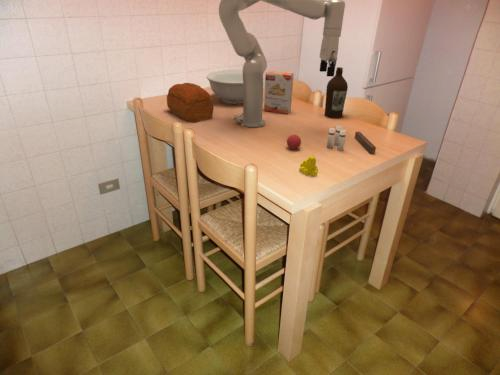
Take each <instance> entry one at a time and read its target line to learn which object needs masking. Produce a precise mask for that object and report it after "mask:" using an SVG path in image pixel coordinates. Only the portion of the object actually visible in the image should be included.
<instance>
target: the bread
mask: <svg viewBox="0 0 500 375" xmlns="http://www.w3.org/2000/svg"><path fill="white" fill-rule="evenodd" d="M166 103H167V108H168V109H169V110H170V112H171V113H173V114H175V115H177V116H179V117H180V118H182V119H184V120H186V121H188V122H191V123H198V122H204V121H208V120H211V119H213V112H214V110H215V109H214V101H213V100H212V97H211V94H210V93H209V92H208V91H207V90H205V89H204V88H202V87H201V86H200V85H198V84H197V83H191V82H184V83H175V84H173V85H171V87H169V89H168V92H167V95H166Z"/></svg>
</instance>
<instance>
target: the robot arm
mask: <svg viewBox="0 0 500 375" xmlns="http://www.w3.org/2000/svg"><path fill="white" fill-rule="evenodd" d="M259 2H264V3H267V4H269V5H273V6H275V7H278V8H280V9H283V10H285V11H288V12H291V13H293V14H296V15H299V16H302V17H305V18H307V19H310V20H313V21H314V20H319V19H322V18H324V22H323V29H322V30H323V31H322V39H321V45H320V52H319V58H320V64H319V72H325V73H326V77H334V76H335V73H336V68H337V67H336V64H337V61H338V52H339V42H340V37H341V36H342V35H341V34H342V28H343V23H344V22H343V21H344V15H345V14H344V13H345V8H346V3H345V1H344V0H220V1H219V6H218V16H219V19H220V22H221V24H222V26H223V29H224V30H225V32H226V35H227V37H228V39H229V41H230V44H231V46H232V48H233V50H234V52H235V54H236V55H237V56H239V57H241V58H243V59H244V61H245V62H244V63H243V65H242V69H241V70H242V73H243V103H242V105H243V107H242V113H241V114H239V115H233V119H234V120H236V121H239V125H241V126H243V127H246V128H261V127H263V126H265V125H266V120H264V119H263V109H264V105H263V104H264V103H263V102H264V101H263V100H264V73H266V72H265V71H266V70H267V67H268V62H267V59H266V56H265V54H264V52H263V50H262V47H261V45H260V44H259V42H258V39H257V37H256V36H255V35H254V34H253V33H250V32H248V31H247V29H246V27H245V24H244V22H243V20H242V19H241V17H240V15H239V12H241V11H243V10H246V9H248V8H249V7H251V6H253V5H255V4H257V3H259Z"/></svg>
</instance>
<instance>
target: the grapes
mask: <svg viewBox="0 0 500 375" xmlns="http://www.w3.org/2000/svg"><path fill="white" fill-rule="evenodd" d="M316 164H317V160H316V157H315V155H314V154H311V155H310V156H309V157H307V158H305V159H303V160H302V162H301V163H300V166H299V171H298V172H299V173H301V174H302V175H305V176H307V175H311V176H312V177H316V176H318V172H319V167H318V166H317V165H316Z"/></svg>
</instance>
